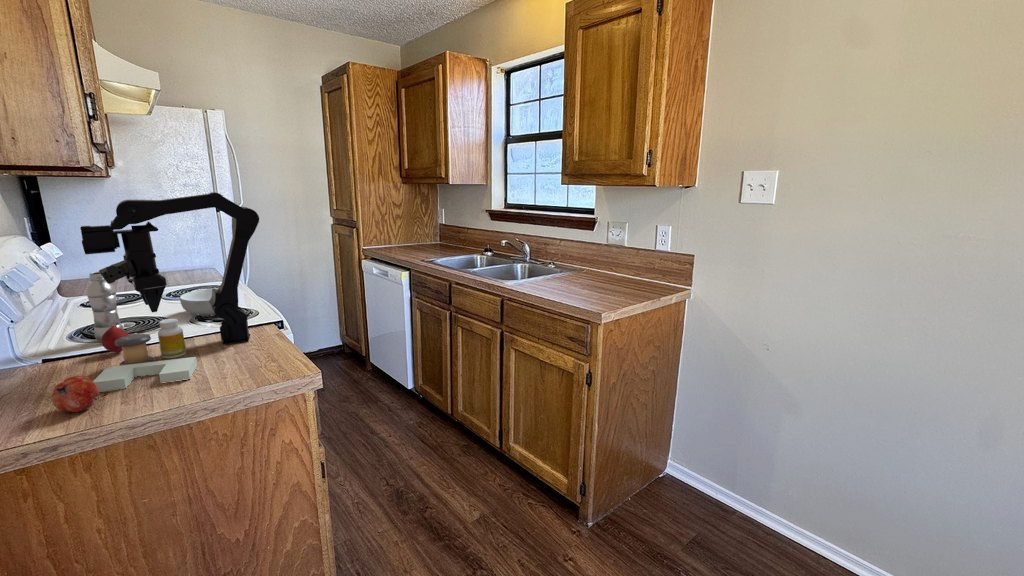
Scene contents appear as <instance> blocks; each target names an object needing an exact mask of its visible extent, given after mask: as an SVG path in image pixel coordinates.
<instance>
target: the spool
mask: <svg viewBox="0 0 1024 576" xmlns="http://www.w3.org/2000/svg"><path fill="white" fill-rule="evenodd" d="M151 338H152V337H151V335H150V334H148V333H147V334H146V333H138V334H137V333H136V334H129V336H124V337H121V338H119V339H117V340H115V345H116V346H120V347H122V355H123V361H121V362H120V363H119V365H118V366H122V365H130V364H139V363H147V362H156V361H155V357H154V356H151V355H149V351H148V347H147V343H148V342H149V341H151V340H152V339H151Z"/></svg>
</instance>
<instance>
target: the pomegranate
mask: <svg viewBox="0 0 1024 576" xmlns="http://www.w3.org/2000/svg"><path fill="white" fill-rule="evenodd" d="M93 381H94V380H92V379H90V378H89V377H87V376H84V375H73V376H70V377H67V378H65V379H64V380H63V381H62V382H60V383H58V384H56V385H55V386H54V389H53V392H52V393H53V394H52V395H51V402H52V404H53V406H54V407H55V408H56V409H58V410H59V411H62V412H72V413H80V412H83V410H84V411H87V410H88V409H89V408H91V407H92V406H93V405H94V403H95V401H98V400H97V399H98V398H97V397H98V396H99V394H100V392H99V390H98V387H97V386H96V384H95V383H94V382H93ZM94 400H95V401H94ZM87 408H88V409H87ZM86 409H87V410H86ZM79 411H80V412H79Z"/></svg>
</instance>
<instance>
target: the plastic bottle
mask: <svg viewBox="0 0 1024 576" xmlns="http://www.w3.org/2000/svg"><path fill="white" fill-rule="evenodd" d="M88 275H89V281H90V282H91V283H90V284H89V286H88V287H87V289H86V291H85V292H86V293H85V294H86V297H87V300H88V302H89V304H90V307H91V311H92V315H93V322H94V328H93V329H94V330H93V332H94V333H93V334H94V337H95V339H96V340H97V341H98V342H99V343H101V339H102V336H103V334H104V333H105V332H106V331H107V330H109V329H110V327H111V326H112V325H117V328H120V329H122V330H124V327H123V324H122V323H121V320H120V316H119V313H118V307H117V290H116V287H115V286H114V285H113V283H110V284H108V283H107V282H106V281H105V279H104V278H103V277H102V275H101V274H100V273H99V271H96V272H95V271H94V272H91V273H89V274H88ZM124 331H125V330H124Z"/></svg>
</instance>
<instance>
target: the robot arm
mask: <svg viewBox="0 0 1024 576" xmlns="http://www.w3.org/2000/svg"><path fill="white" fill-rule="evenodd" d="M212 208H214V209H215V208H216V209H217V210H218V211H221V212H222V213H224V214H226V215H227V216H229V217H231V234H232V238H231V241H230V242H231V243H230V247H229V251H228V255H227V259H226V263H225V266H224V267H225V268H224V273H223V277H222V280H221V284H220V286H219V287H218V288H219V289H218V290H216V289H212V297H211V299H210V301H209V302H210V304H211V307H212V309H213V311H214V312H215V314H216V316H217V317H218V318H220V319H222V320H221V322H220V323H221V325H220V326H219V333H220V339H221V340H220V341H221V342H222V345H230V344H238V343H239V344H240V343H241V344H242V343H248V342H249V340H250V337H251V333H250V329H249V323H248V314H247V312H245V310H244V309H243V308H242V307H241V306H239V291H238V290H239V282H240V279H241V275H242V270H243V267H244V262H245V258H246V253H247V249H248V245H249V241H250V240H251V238H252V237H253V235H254V234H255V232H256V229H257V226H258V225H259V223H260V215H259V214H258V212H257V211H255V210H254V209H252V208H249V207H247V206H240V205H238V204H236V203H235V202H233V201H232V200H229V199H228V198H226V197H225V196H224V195H222V193H218V192H216V191H211V192H209V193H203V194H196V195H195V194H194V195H189V196H188V195H187V196H180V197H174V198H166V199H165V198H164V199H124V200H122V201H120V202H118V204H117V205H116V208H115V212H116V216H115V217H114V218H113V220H110V224H108V225H94V226H93V225H81V226H80V234H81V239H82V240H81V244H82V249H83V252H84V255H94V254H95V255H98V254H107V253H116V249H117V250H118V248H121V245H120V240H119V236H118V235H121V240H122V241H121V242H122V245H123V249H124V254H123V256H122V257H123V260H121V261H119V262H115V263H113V264H111V265H108V266H105V267H104V268H102V269H99V270H98V272H99V273H100V274H101V275H102V277H103V278H104V279H105V281H106V282H107V283H108V284H113V283H115V282H116V281H118V280H120V279H123V278H126V280H127V282H128V283H130V284H131V285H133V287H134V290H135V291H136V292H138V293H139V294H140V296H141V298H142V300H143V302H144V304H145V306H148V307H149V310H150V312H151V313H157V312H158V310H159V306H160V303H161V300H162V298H163V295H164V292H165V288H166V287H167V284H168V283H167V280H166V279H167V278H166V277H165V276H164V275H162V274H160V271H159V268H158V266H157V261H156V258H157V255H156V253H155V251H154V247H153V241H152V238H151V232H158V231H159V228H158V227H157V226H155V225H153V224H152V223H151V222H150V221H151V220H153V219H156V218H159V217H162V216H165V215H166V216H167V215H172V214H177V213H179V214H180V213H184V212H185V213H186V212H193V211H198V210H205V209H212ZM144 222H146V223H145V224H141V223H144ZM139 224H140V225H139ZM129 225H131V226H130V227H131V229H124V228H126V227H128V226H129Z"/></svg>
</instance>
